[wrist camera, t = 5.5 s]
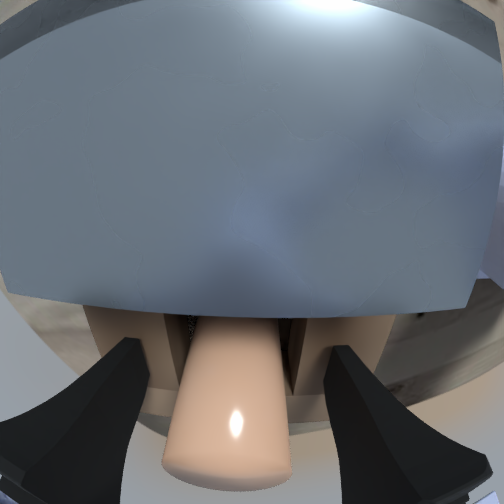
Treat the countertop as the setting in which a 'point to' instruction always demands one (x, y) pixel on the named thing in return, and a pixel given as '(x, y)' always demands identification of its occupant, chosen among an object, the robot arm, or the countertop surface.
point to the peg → (231, 408)
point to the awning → (249, 155)
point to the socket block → (293, 361)
